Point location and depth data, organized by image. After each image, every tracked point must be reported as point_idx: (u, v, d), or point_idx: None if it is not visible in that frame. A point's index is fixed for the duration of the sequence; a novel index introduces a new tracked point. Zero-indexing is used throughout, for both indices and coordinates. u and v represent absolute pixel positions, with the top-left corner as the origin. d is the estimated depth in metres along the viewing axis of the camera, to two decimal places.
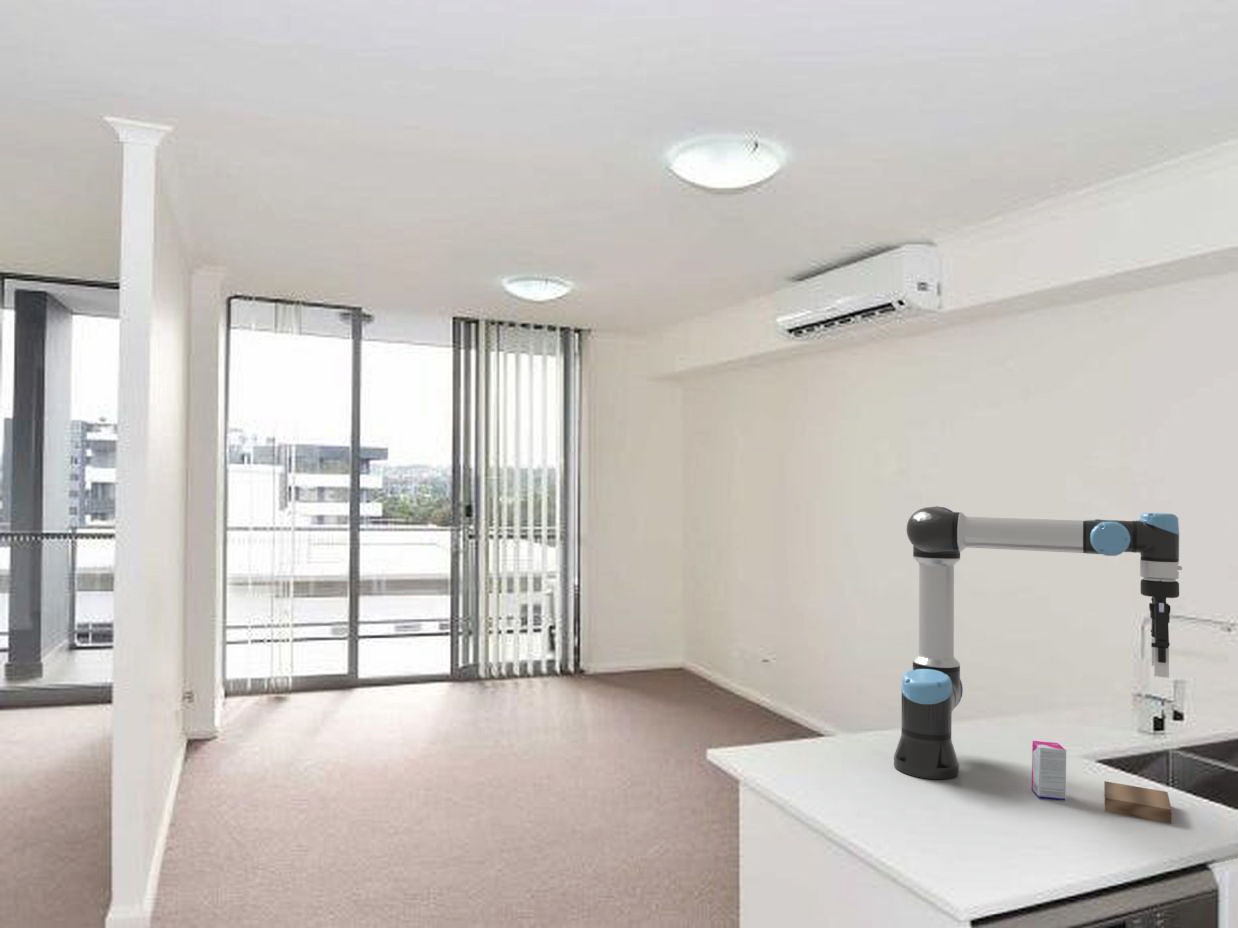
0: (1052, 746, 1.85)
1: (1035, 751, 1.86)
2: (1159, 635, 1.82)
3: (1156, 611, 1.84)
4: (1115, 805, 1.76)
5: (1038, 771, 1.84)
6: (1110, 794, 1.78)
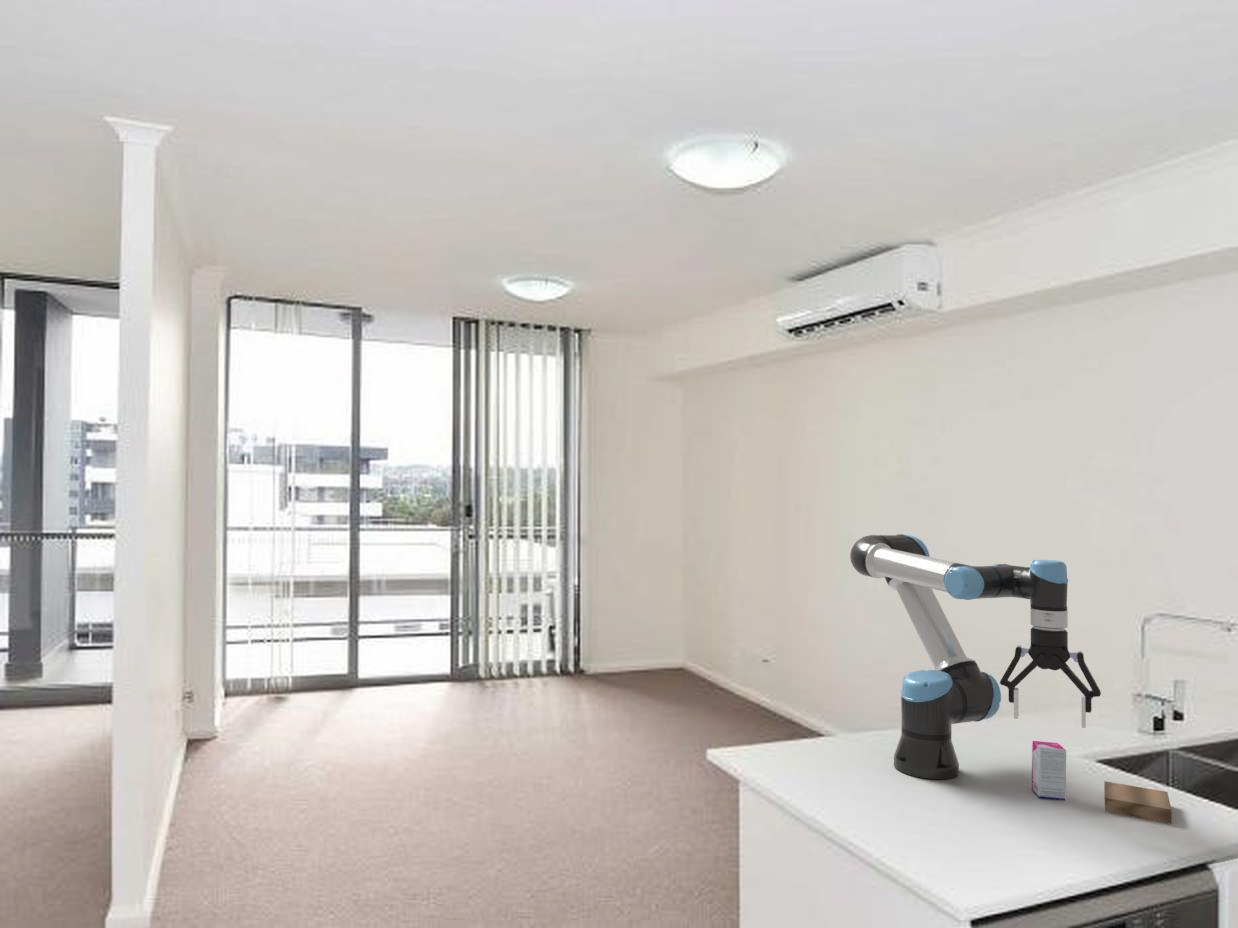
0: (1052, 746, 1.85)
1: (1035, 751, 1.87)
2: (1004, 674, 1.91)
3: None
4: (1115, 805, 1.76)
5: (1038, 771, 1.84)
6: (1110, 794, 1.78)
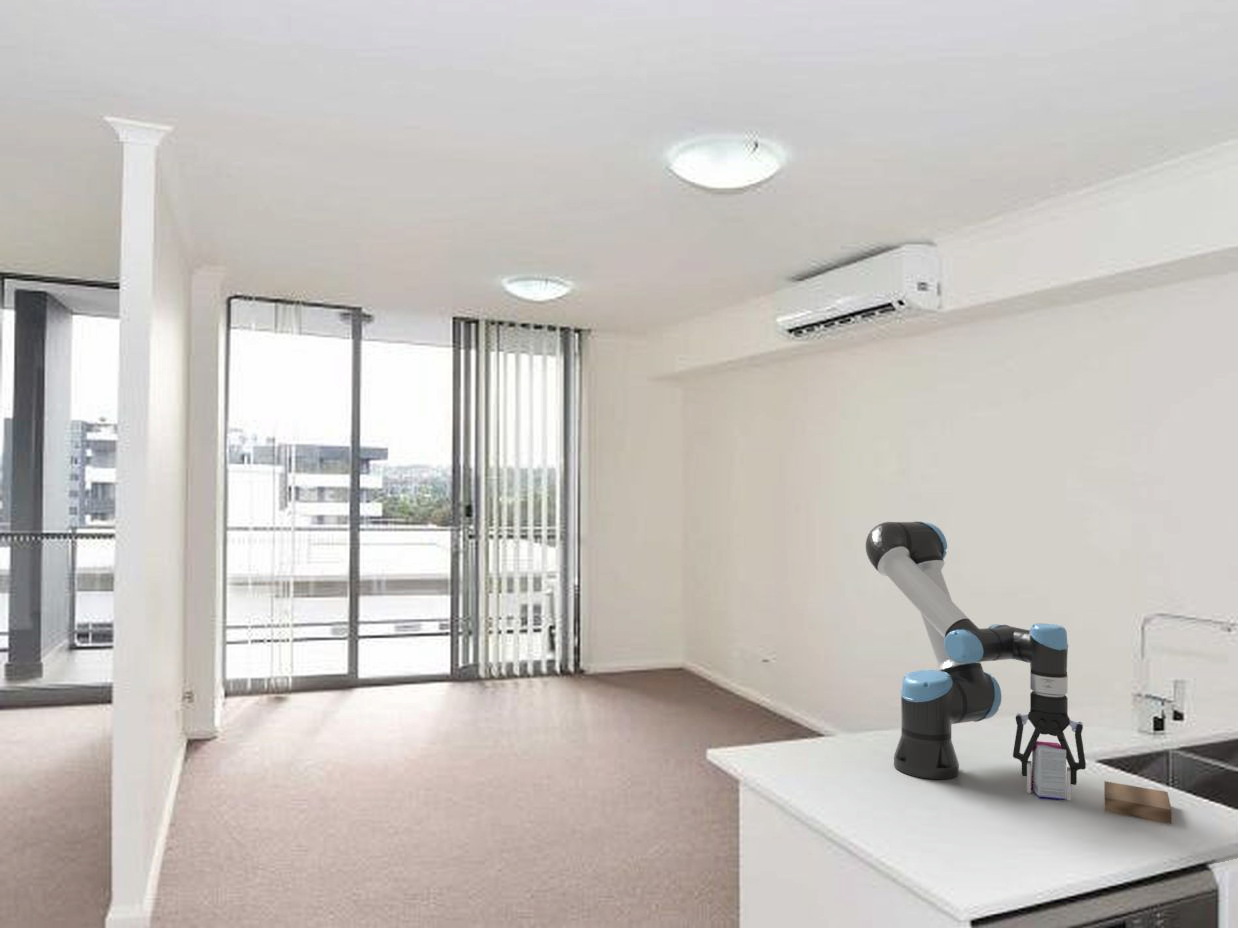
0: (1052, 746, 1.85)
1: (1035, 751, 1.87)
2: None
3: None
4: (1115, 805, 1.76)
5: (1038, 771, 1.84)
6: (1110, 794, 1.78)
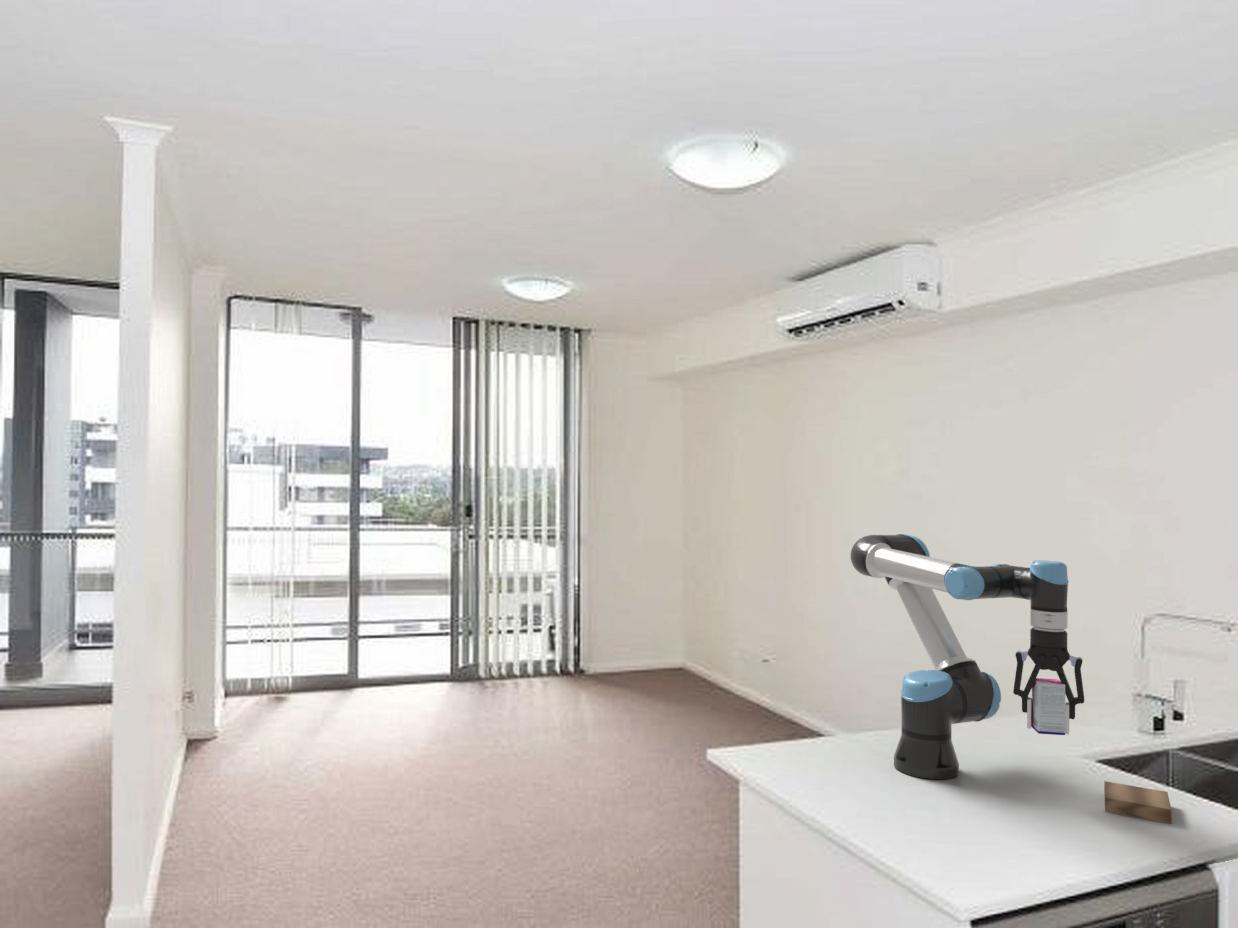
0: (1051, 681, 1.86)
1: (1034, 687, 1.87)
2: None
3: None
4: (1115, 805, 1.76)
5: (1037, 706, 1.85)
6: (1110, 794, 1.78)
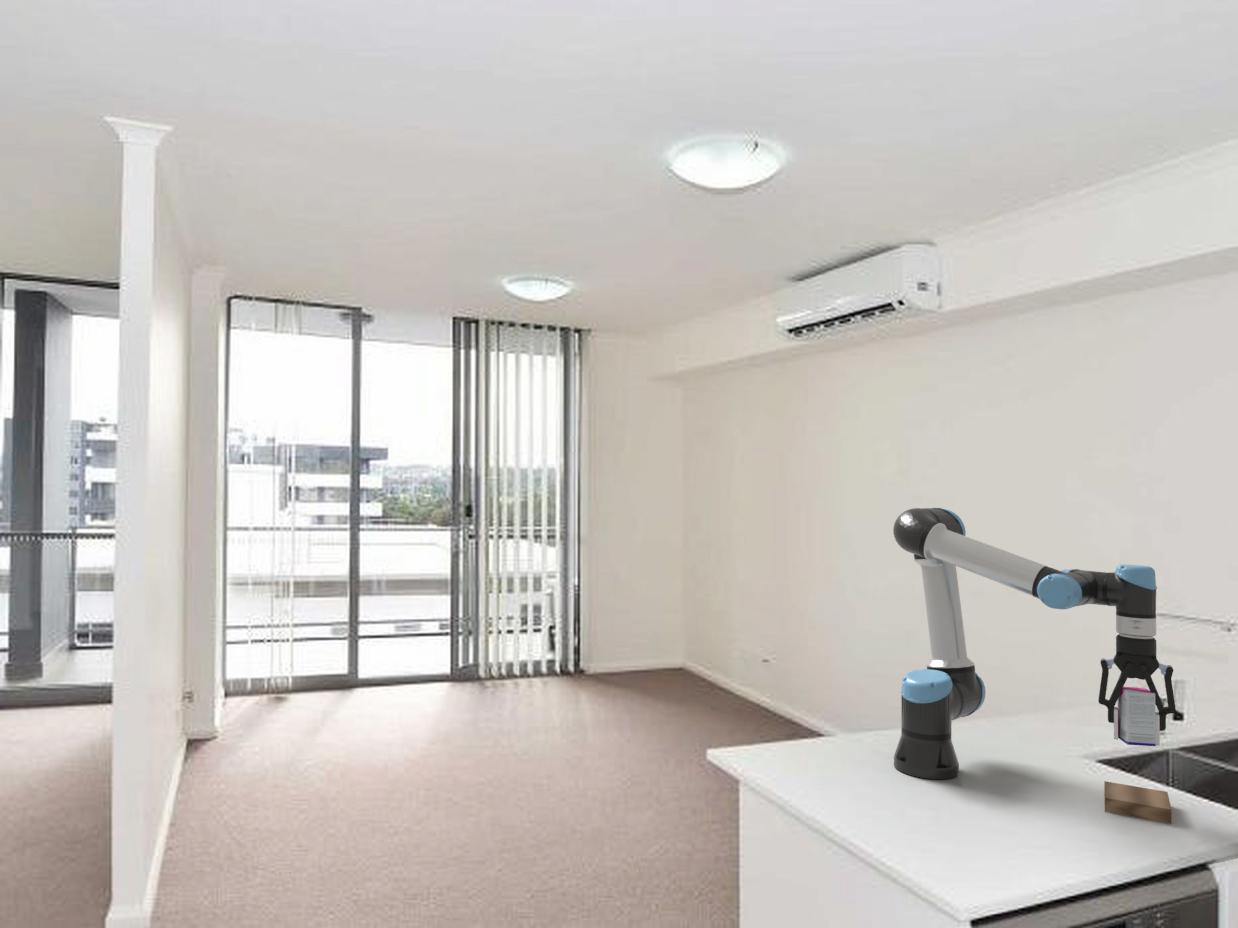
0: (1139, 690, 1.78)
1: (1121, 696, 1.80)
2: (1099, 692, 1.83)
3: None
4: (1115, 805, 1.76)
5: (1126, 716, 1.78)
6: (1110, 794, 1.78)
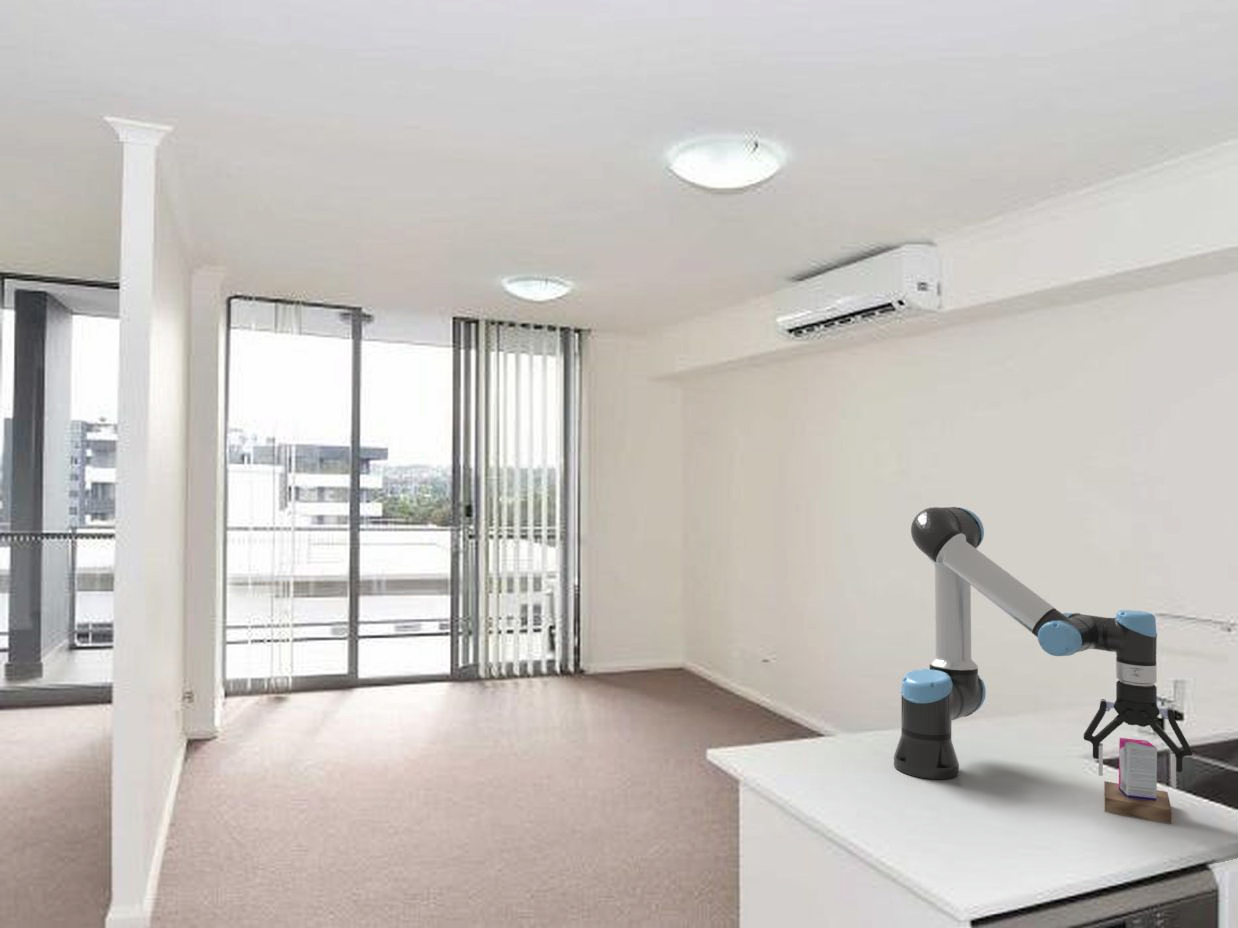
0: (1141, 743, 1.78)
1: (1123, 748, 1.80)
2: (1087, 728, 1.84)
3: None
4: (1115, 805, 1.76)
5: (1127, 769, 1.77)
6: (1110, 794, 1.78)
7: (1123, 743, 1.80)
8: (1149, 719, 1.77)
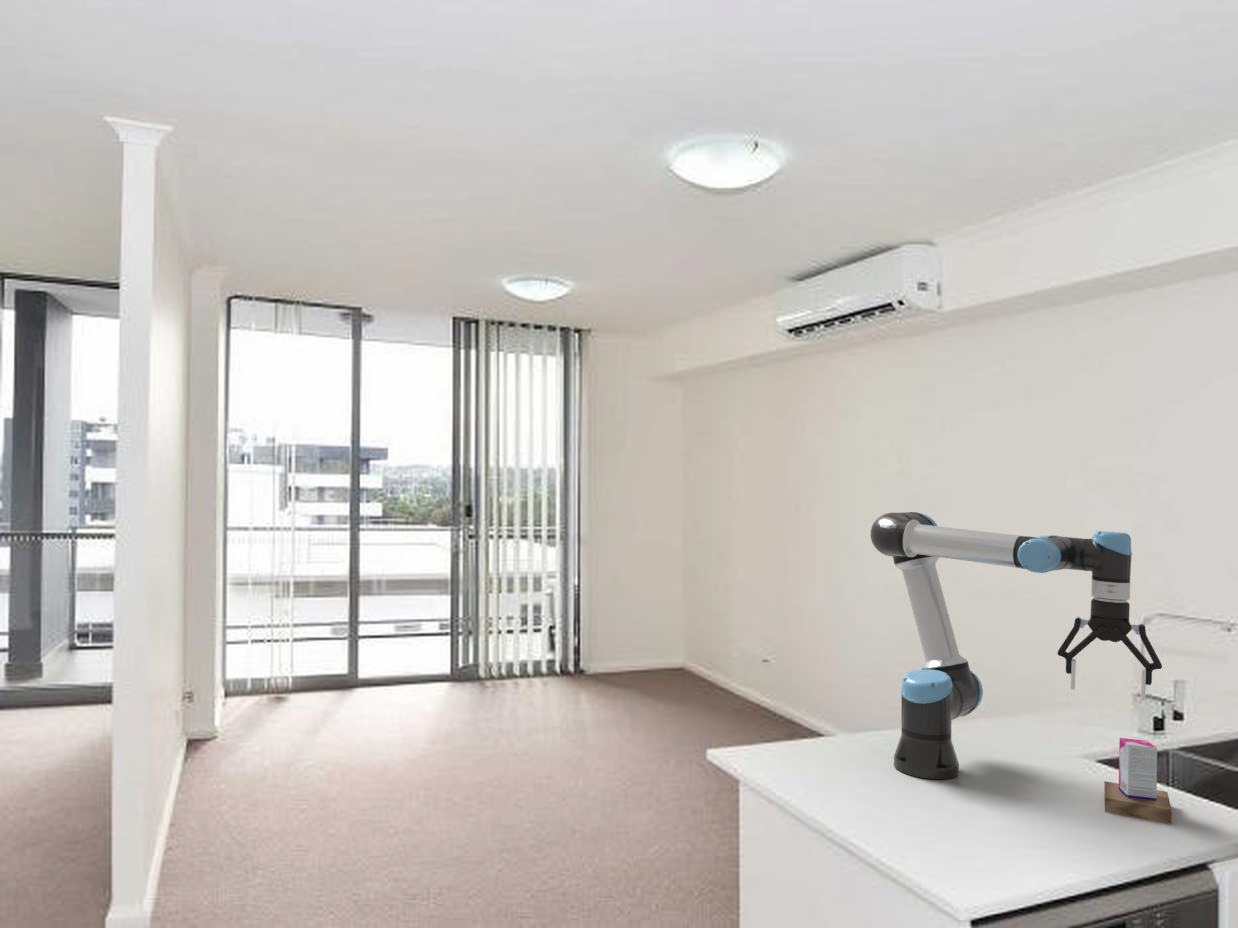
0: (1141, 743, 1.78)
1: (1123, 748, 1.80)
2: (1061, 645, 1.90)
3: None
4: (1115, 805, 1.76)
5: (1127, 769, 1.77)
6: (1110, 794, 1.78)
7: (1123, 743, 1.80)
8: (1121, 634, 1.82)
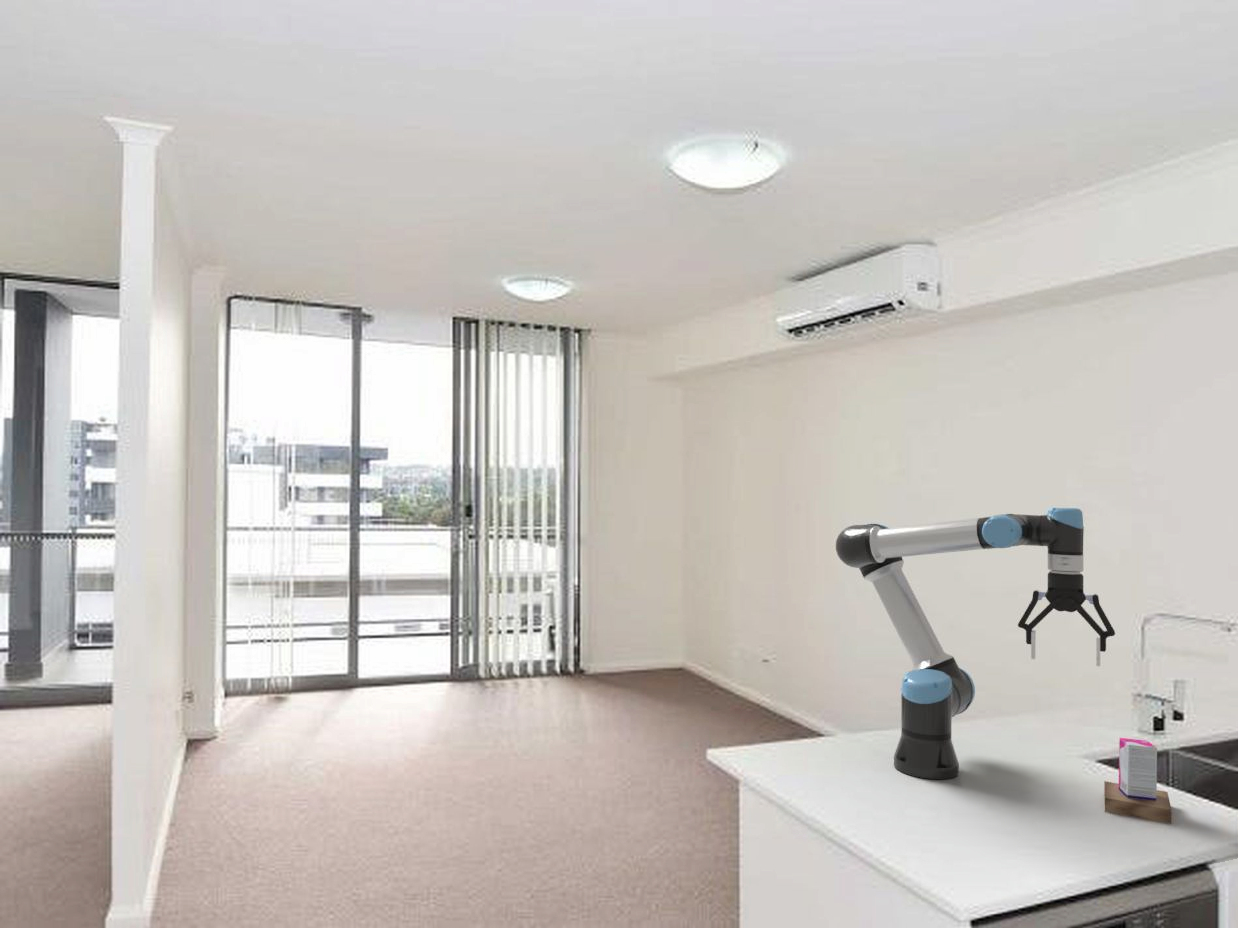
0: (1141, 743, 1.78)
1: (1123, 748, 1.80)
2: None
3: None
4: (1115, 805, 1.76)
5: (1127, 769, 1.77)
6: (1110, 794, 1.78)
7: (1123, 743, 1.80)
8: (1076, 604, 1.92)
